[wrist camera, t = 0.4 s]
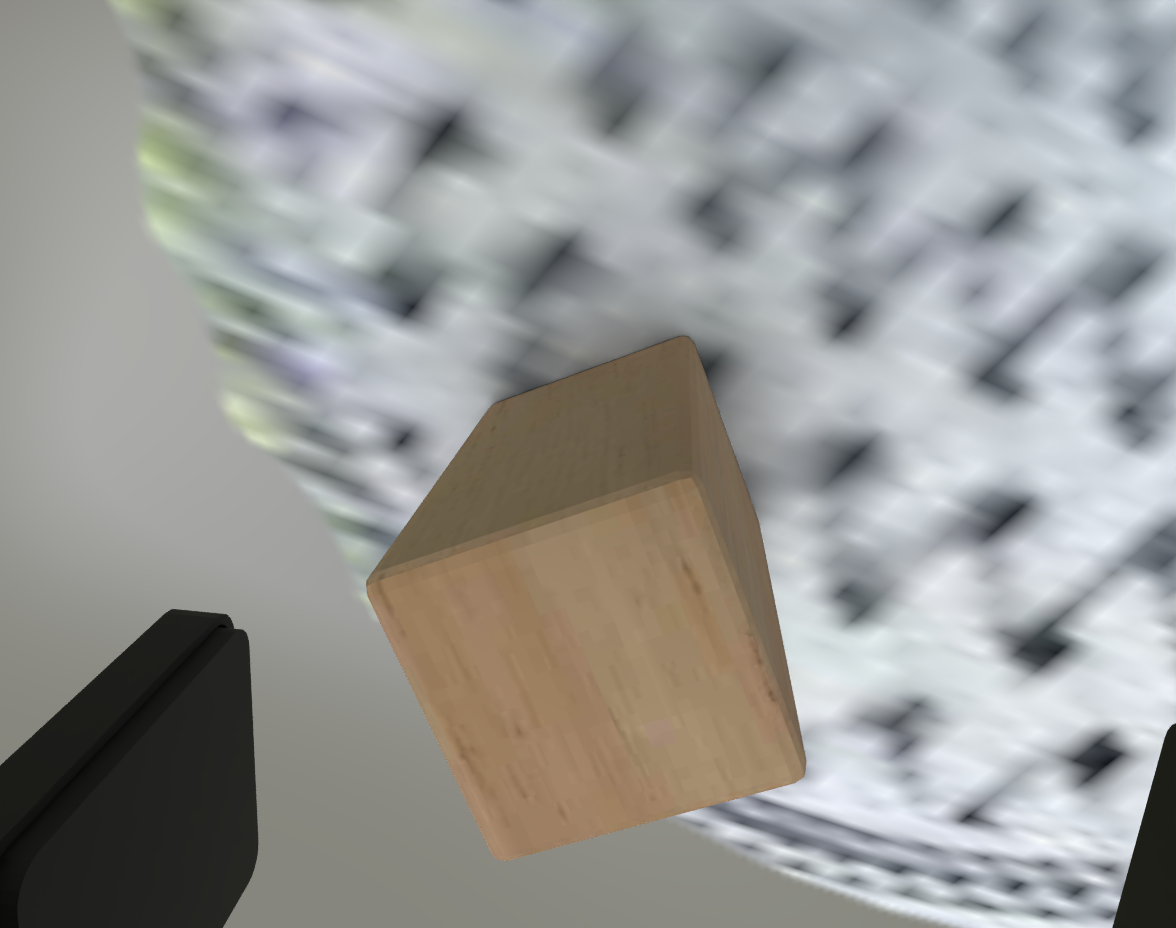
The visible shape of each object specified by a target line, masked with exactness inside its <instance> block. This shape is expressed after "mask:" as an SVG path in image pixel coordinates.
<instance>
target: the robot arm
mask: <svg viewBox="0 0 1176 928" xmlns="http://www.w3.org/2000/svg"><path fill="white" fill-rule="evenodd" d="M249 652H250V651H249V640H248V636H247V633H246V632H245V631H244V630H241V629H234V626H233V623H232V620H231V618H230V617H228V615H226V614H219V613H209V612H198V611H188V610H178V609H172V610H170V611H168V612H166V613H165V614H164V615H163V616H162V617H161V618H160V619H159V620H158V621H156V622H155V623H154V624H153V625H152V626H151V627H150V628H149V629H148V630H147V631H146V632H144V633H143V635H141V636H140V637H139V638H138V639H137V640H136V641H135V642H134V643H133V644H131V645H130V646H129V647H128V648H127V649H126V650H125V651H124V652H123V653H122V654H121V655H120V656H118V657H117V658H116V659H115V660H114V661H113V662H112V663H111V664H110V665H109V666H108V667H107V668H105V669H104V670H103V671H102V672H101V673H100V674H99V675H98V676H97V677H96V678H95V679H94V680H92V682H90V683H89V684H88V685H87V686H86V687H85V688H84V689H83V690H82V691H81V692H80V693H78V694H77V695H76V696H75V697H74V698H73V699H72V700H71V701H70V702H69V703H68V704H67V705H65V706H64V707H63V708H62V709H61V710H60V711H59V712H58V713H57V714H56V715H55V716H54V717H52V718H51V719H50V720H49V721H48V722H47V723H46V724H45V725H44V726H43V727H42V728H40V729H39V730H38V731H37V732H36V733H35V734H34V735H33V736H32V737H31V738H30V739H29V740H28V741H26V743H24V744H23V745H22V746H21V747H20V748H19V749H18V750H17V751H15V752H14V753H13V754H12V755H11V756H10V757H9V758H8V759H7V760H6V761H5V762H4V763H3V764H1V766H0V928H223V926H224V924H225V923H226V921H227V919H228V917H229V916H230V914H231V912H232V911H233V909H234V907H235V906H236V904H237V902H238V900H239V899H240V897H241V895H242V893H243V892H244V890H245V888H246V887H247V885H248V883H249V881H250V879H251V877H252V874H253V871H254V868H255V864H256V860H257V854H258V825H257V803H256V782H255V759H254V738H253V716H252V694H251V673H250V653H249ZM1113 928H1176V724H1173V725H1172V726H1171V727H1170V728H1169V729H1168V731H1167V734H1166V736H1165V739H1164V742H1163V746H1162V750H1161V753H1160V757H1159V761H1158V764H1157V768H1156V772H1155V775H1154V779H1153V782H1152V786H1151V790H1150V793H1149V797H1148V801H1147V804H1146V808H1145V812H1144V815H1143V819H1142V822H1141V826H1140V830H1139V833H1138V837H1137V841H1136V844H1135V848H1134V851H1133V855H1132V859H1131V862H1130V866H1129V870H1128V873H1127V877H1126V881H1125V884H1124V888H1123V891H1122V895H1121V899H1120V902H1119V906H1118V910H1117V913H1116V917H1115V920H1114V924H1113Z"/></svg>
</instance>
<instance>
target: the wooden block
mask: <svg viewBox="0 0 1176 928" xmlns="http://www.w3.org/2000/svg"><path fill="white" fill-rule="evenodd" d="M366 587H367V595H368V598H369V600H370V602H371V604H372V606H373V608H374V611H375V613H376V615H377V617H378V619H379V621H380V623H381V625H382V627H383V629H384V631H385V633H386V635H387V638H388V640H389V642H390V644H391V646H392V648H393V650H394V652H395V654H396V656H397V658H398V660H399V662H400V665H401V667H402V668H403V671H404V673H405V675H406V677H407V679H408V681H409V683H410V685H411V687H412V689H413V691H414V694H415V696H416V698H417V700H418V702H419V704H420V706H421V708H422V710H423V712H424V714H425V716H426V718H427V721H428V722H429V725H430V727H431V729H432V731H433V733H434V735H435V737H436V739H437V741H438V743H439V745H440V748H441V750H442V752H443V753H444V756H445V758H446V760H447V762H448V764H449V766H450V768H451V770H452V772H453V775H454V777H455V779H456V781H457V783H458V785H459V787H460V789H461V791H462V793H463V795H464V797H465V799H466V802H467V804H468V806H469V808H470V810H471V812H472V814H473V816H474V818H475V820H476V822H477V824H478V826H479V829H480V831H481V833H482V835H483V837H484V839H485V841H486V843H487V845H488V847H489V849H490V851H491V853H492V855H493V856H494V857H495V858H496V859H498V860H506V861H508V860H511V859H515V858H519V857H522V856H526V855H530V854H533V853H537V852H541V851H545V850H548V849H552V848H556V847H559V846H563V845H567V844H571V843H574V842H578V841H582V840H585V839H589V838H593V837H597V836H600V835H604V834H608V833H611V832H615V831H619V830H623V829H626V828H630V827H634V826H637V825H641V824H645V823H649V822H652V821H656V820H660V819H663V818H667V817H671V816H675V815H678V814H682V813H686V812H689V811H693V810H697V809H700V808H704V807H708V806H712V805H715V804H719V803H723V802H726V801H730V800H734V799H738V798H741V797H745V796H749V795H752V794H756V793H760V792H764V791H767V790H771V789H775V788H778V787H782V786H786V785H789V784H793V783H796V782H797V781H799V780H800V779H802V778H803V777H804V775H805V770H806V756H805V751H804V746H803V741H802V736H801V731H800V726H799V721H798V716H797V711H796V706H795V701H794V696H793V691H792V686H791V681H790V676H789V671H788V666H787V661H786V656H785V650H784V645H783V640H782V635H781V630H780V625H779V620H778V615H777V610H776V605H775V600H774V595H773V590H772V585H771V580H770V575H769V570H768V565H767V560H766V555H765V550H764V545H763V540H762V535H761V529H760V524H759V521H758V518H757V515H756V513H755V510H754V507H753V504H752V502H751V499H750V496H749V493H748V490H747V488H746V485H745V482H744V479H743V477H742V474H741V471H740V468H739V466H738V463H737V460H736V457H735V454H734V452H733V449H732V446H731V443H730V441H729V438H728V435H727V432H726V429H725V427H724V424H723V421H722V418H721V416H720V413H719V410H718V407H717V404H716V402H715V399H714V396H713V393H712V391H711V388H710V385H709V382H708V380H707V377H706V374H705V371H704V368H703V366H702V363H701V360H700V357H699V355H698V352H697V349H696V346H695V343H694V342H693V341H692V340H691V339H690V338H689V337H681V336H680V337H677V338H674V339H671V340H669V341H666V342H663V343H660V344H658V345H655V346H652V347H649V348H647V349H644V350H641V351H638V352H636V353H633V354H630V355H627V356H625V357H622V358H619V359H616V360H614V361H611V362H608V363H605V364H603V365H600V366H597V367H594V368H592V369H589V370H586V371H583V372H581V373H578V374H575V375H572V376H570V377H567V378H564V379H561V380H559V381H556V382H553V383H550V384H547V385H545V386H542V387H539V388H536V389H534V390H531V391H528V392H525V393H523V394H520V395H517V396H514V397H512V398H509V399H506V400H503V401H501V402H498V403H495V404H493V405H492V406H491V407H490V408H489V409H488V410H487V412H486V413H485V415H484V416H483V417H482V419H481V420H480V422H479V423H478V424H477V426H476V427H475V429H474V430H473V431H472V433H471V434H470V436H469V437H468V438H467V440H466V441H465V443H464V444H463V445H462V447H461V448H460V450H459V451H458V453H457V454H456V455H455V457H454V458H453V460H452V461H451V462H450V464H449V465H448V467H447V468H446V469H445V471H444V472H443V474H442V475H441V476H440V478H439V479H438V481H437V482H436V484H435V485H434V486H433V488H432V489H431V491H430V492H429V493H428V495H427V496H426V498H425V499H424V500H423V502H422V503H421V505H420V506H419V507H418V509H417V510H416V512H415V513H414V515H413V516H412V517H411V519H410V520H409V522H408V523H407V524H406V526H405V527H404V529H403V530H402V531H401V533H400V534H399V536H398V537H397V538H396V540H395V541H394V543H393V544H392V546H391V547H390V548H389V550H388V551H387V553H386V554H385V555H384V557H383V558H382V560H381V561H380V562H379V564H378V565H377V567H376V568H375V569H374V571H373V572H372V574H371V575H370V577H369V578H368V579H367V581H366Z"/></svg>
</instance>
